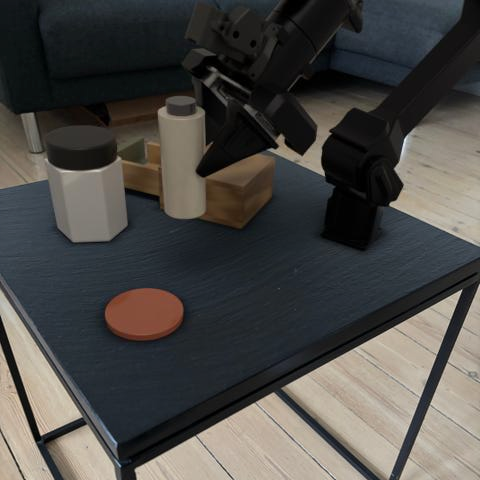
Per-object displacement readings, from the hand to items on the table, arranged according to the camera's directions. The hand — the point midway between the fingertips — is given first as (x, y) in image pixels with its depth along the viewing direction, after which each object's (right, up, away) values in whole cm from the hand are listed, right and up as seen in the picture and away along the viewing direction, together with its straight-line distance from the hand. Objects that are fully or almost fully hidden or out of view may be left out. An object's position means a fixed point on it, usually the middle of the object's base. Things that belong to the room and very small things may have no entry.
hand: (189, 166), depth 52 cm
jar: (-14, -3, +16) cm, 22 cm away
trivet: (-5, -15, +2) cm, 16 cm away
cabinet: (+2, +2, +24) cm, 24 cm away
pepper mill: (-1, -4, +3) cm, 5 cm away
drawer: (-9, +6, +27) cm, 28 cm away
